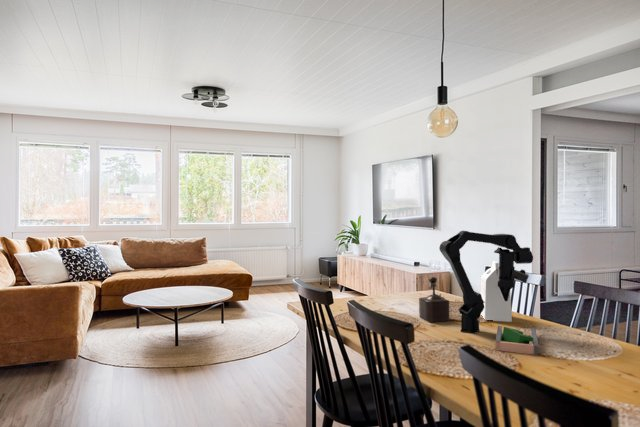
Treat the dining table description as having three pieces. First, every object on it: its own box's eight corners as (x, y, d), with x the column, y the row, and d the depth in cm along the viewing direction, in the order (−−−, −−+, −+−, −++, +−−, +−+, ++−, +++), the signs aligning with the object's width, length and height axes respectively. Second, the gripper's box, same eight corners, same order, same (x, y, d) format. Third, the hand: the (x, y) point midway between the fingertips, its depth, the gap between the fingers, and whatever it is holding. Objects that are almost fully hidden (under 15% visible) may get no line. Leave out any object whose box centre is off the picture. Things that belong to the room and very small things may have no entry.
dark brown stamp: (451, 321, 205) (451, 281, 205) (429, 322, 203) (429, 282, 202) (434, 313, 221) (435, 276, 220) (413, 314, 218) (413, 277, 218)
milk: (511, 321, 204) (512, 263, 204) (484, 320, 206) (485, 263, 206) (505, 315, 216) (505, 260, 216) (479, 314, 218) (480, 260, 217)
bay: (495, 349, 165) (495, 341, 165) (497, 332, 186) (497, 325, 186) (538, 354, 159) (538, 346, 159) (535, 336, 181) (535, 329, 181)
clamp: (526, 361, 166) (537, 341, 162) (511, 357, 165) (522, 338, 162) (513, 339, 177) (523, 321, 173) (499, 336, 176) (509, 317, 173)
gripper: (528, 267, 179) (527, 307, 180) (527, 262, 196) (526, 298, 197) (497, 266, 184) (497, 304, 184) (499, 261, 201) (499, 296, 201)
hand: (506, 300), depth 191 cm, fingers closed
